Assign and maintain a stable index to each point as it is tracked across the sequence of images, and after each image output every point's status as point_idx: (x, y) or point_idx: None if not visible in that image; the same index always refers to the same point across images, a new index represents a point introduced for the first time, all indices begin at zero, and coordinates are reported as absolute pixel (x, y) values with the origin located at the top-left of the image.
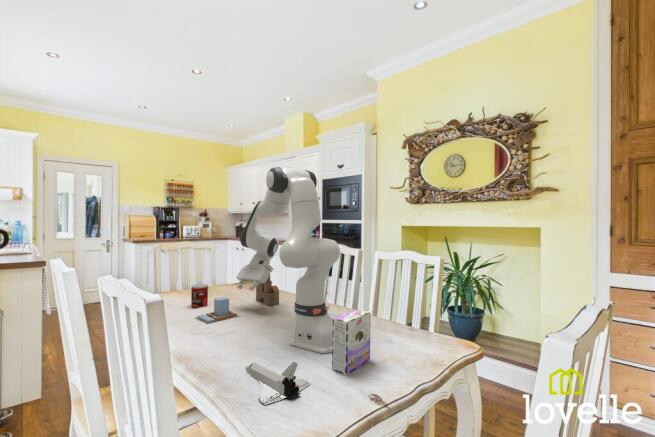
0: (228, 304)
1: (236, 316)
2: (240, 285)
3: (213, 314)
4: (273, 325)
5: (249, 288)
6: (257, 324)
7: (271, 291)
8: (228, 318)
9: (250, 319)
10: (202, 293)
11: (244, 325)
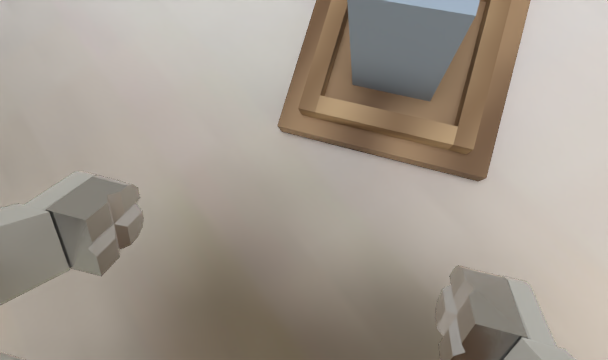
0: (351, 26)
1: (296, 107)
2: (465, 314)
3: (479, 30)
4: (30, 144)
5: (116, 181)
6: (117, 108)
7: None
8: (315, 45)
9: (212, 160)
10: None
11: (174, 53)
